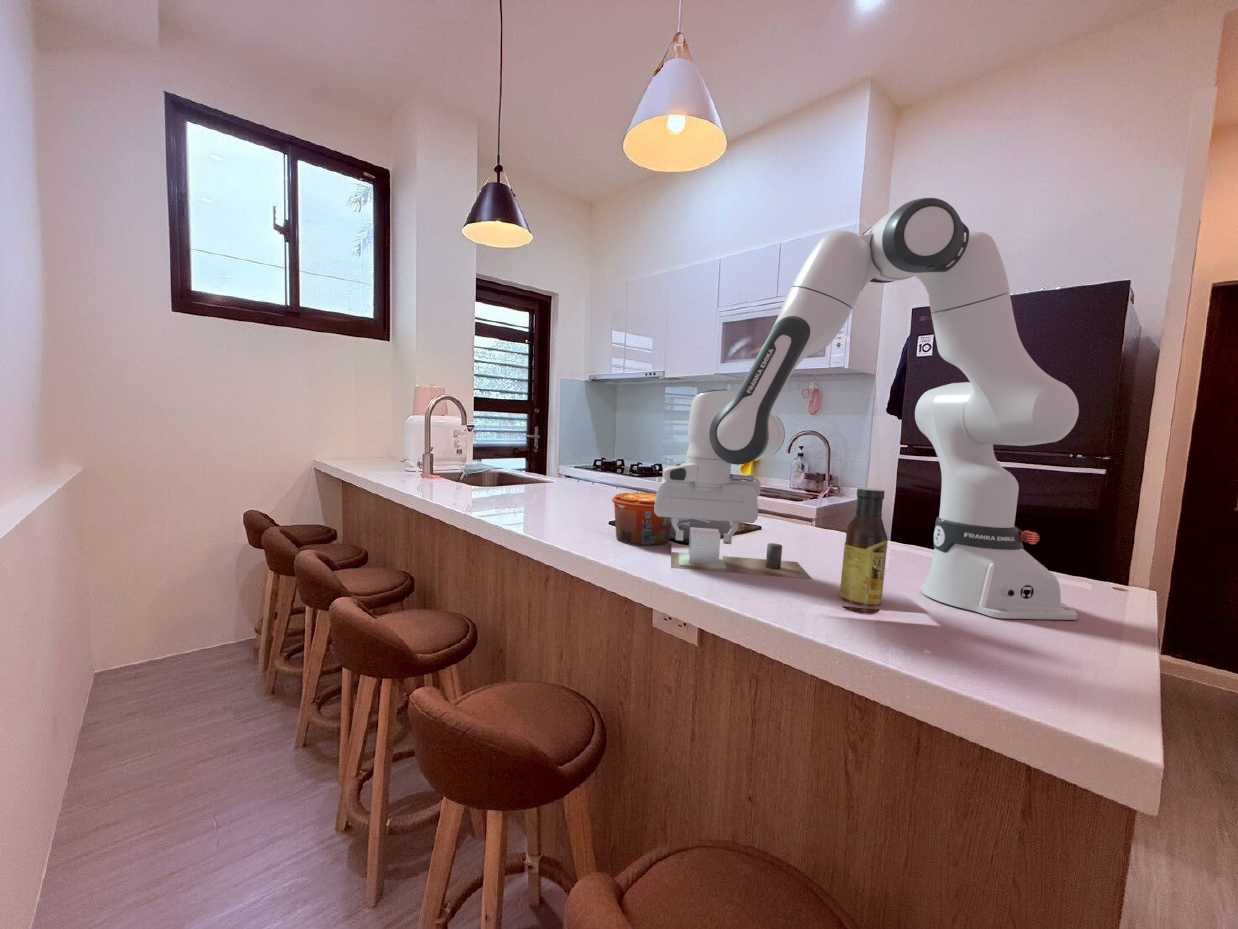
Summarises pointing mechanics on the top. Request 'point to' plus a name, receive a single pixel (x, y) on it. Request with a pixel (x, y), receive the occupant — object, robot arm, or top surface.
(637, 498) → the food container
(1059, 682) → the top surface
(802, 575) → the post board
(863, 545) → the sauce bottle
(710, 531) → the white cube
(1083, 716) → the top surface
